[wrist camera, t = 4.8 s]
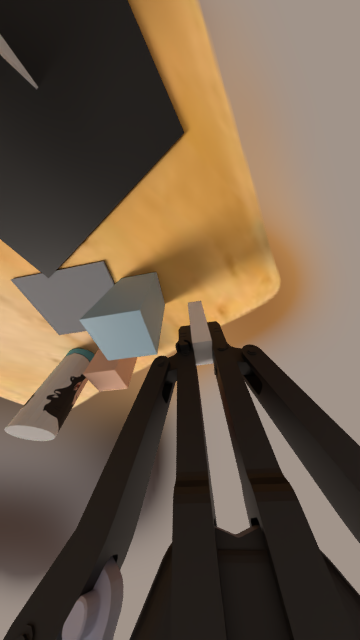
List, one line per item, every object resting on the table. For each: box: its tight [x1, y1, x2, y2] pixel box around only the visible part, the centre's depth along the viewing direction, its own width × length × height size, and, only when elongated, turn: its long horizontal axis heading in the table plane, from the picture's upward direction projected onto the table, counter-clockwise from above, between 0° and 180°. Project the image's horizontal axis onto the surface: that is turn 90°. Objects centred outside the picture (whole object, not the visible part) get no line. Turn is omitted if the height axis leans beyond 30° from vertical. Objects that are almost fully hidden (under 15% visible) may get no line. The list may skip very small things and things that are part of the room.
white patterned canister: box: [5, 348, 95, 441], centre depth 28 cm, size 7×7×15 cm
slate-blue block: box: [79, 272, 165, 361], centre depth 20 cm, size 6×6×12 cm
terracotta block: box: [83, 349, 137, 392], centre depth 30 cm, size 6×6×8 cm
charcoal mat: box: [11, 261, 115, 335], centre depth 26 cm, size 16×12×1 cm
